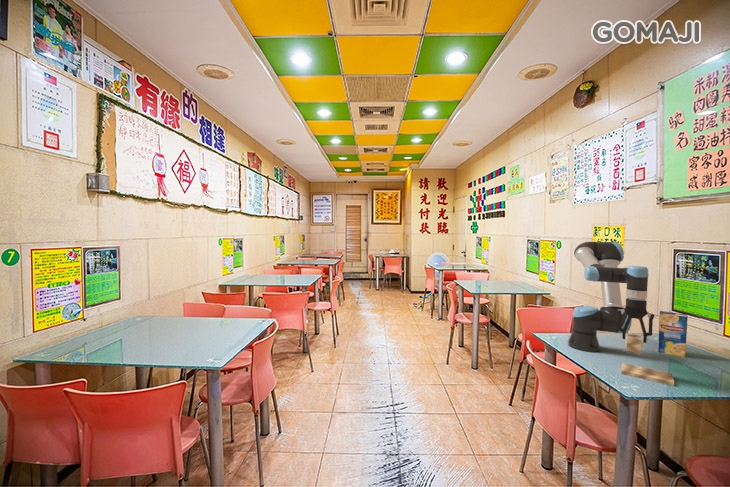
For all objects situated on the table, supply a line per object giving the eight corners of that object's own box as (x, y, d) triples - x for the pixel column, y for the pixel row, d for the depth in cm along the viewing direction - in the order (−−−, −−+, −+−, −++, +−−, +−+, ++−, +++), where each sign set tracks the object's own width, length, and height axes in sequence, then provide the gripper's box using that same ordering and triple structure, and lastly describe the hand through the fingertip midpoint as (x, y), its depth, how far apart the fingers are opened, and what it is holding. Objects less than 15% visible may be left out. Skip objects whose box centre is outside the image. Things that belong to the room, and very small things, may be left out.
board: (621, 373, 152) (621, 370, 151) (622, 365, 161) (622, 362, 161) (674, 386, 140) (674, 382, 140) (671, 376, 149) (672, 373, 149)
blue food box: (685, 357, 174) (687, 316, 173) (657, 351, 181) (660, 313, 180) (684, 353, 179) (686, 314, 178) (657, 348, 186) (659, 310, 185)
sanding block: (626, 352, 151) (627, 337, 151) (627, 347, 158) (627, 333, 157) (640, 354, 148) (641, 339, 148) (640, 350, 154) (641, 335, 154)
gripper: (611, 297, 155) (609, 345, 156) (662, 303, 143) (659, 354, 144) (612, 295, 161) (610, 341, 162) (661, 300, 149) (659, 350, 150)
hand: (633, 347), depth 153 cm, fingers closed on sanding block, 5 cm apart
